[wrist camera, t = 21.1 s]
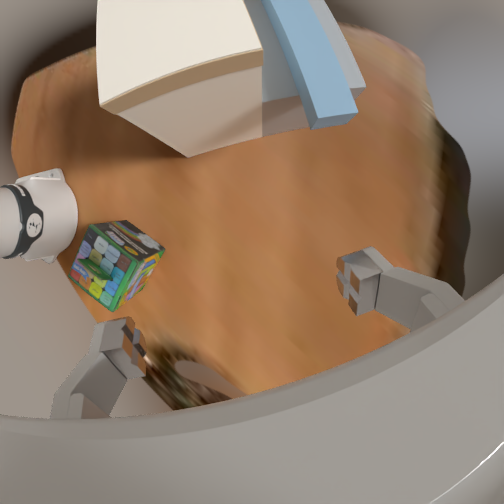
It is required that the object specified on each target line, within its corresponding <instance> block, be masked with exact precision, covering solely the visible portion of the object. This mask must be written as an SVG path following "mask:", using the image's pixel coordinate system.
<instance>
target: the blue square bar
mask: <svg viewBox="0 0 504 504" xmlns="http://www.w3.org/2000/svg"><path fill="white" fill-rule="evenodd" d="M261 2H262V4H263V6H264V8H265V11H266V13H267V15H268V17H269V19H270V22H271V24H272V26H273V29H274V31H275V33H276V36H277V38H278V40H279V43H280V45H281V48H282V50H283V53H284V55H285V58H286V60H287V63H288V65H289V68H290V71H291V73H292V76H293V79H294V82H295V84H296V87H297V90H298V93H299V96H300V99H301V102H302V105H303V108H304V111H305V114H306V117H307V120H308V123H309V126H310V130H313V129H318V128H324V127H330V126H336V125H343V124H347V123H348V122H349V121H350V120H351V119H352V118H353V117H354V116H355V115H356V114H357V113H358V110H357V107H356V105H355V102H354V99H353V96H352V94H351V91H350V88H349V86H348V83H347V81H346V78H345V76H344V73H343V71H342V68H341V66H340V64H339V61H338V59H337V57H336V55H335V52H334V50H333V48H332V46H331V44H330V42H329V40H328V38H327V35H326V33H325V31H324V29H323V27H322V25H321V24H320V22H319V20H318V18H317V16H316V14H315V12H314V10H313V9H312V7H311V5H310V3H309V2H308V0H261Z"/></svg>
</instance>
